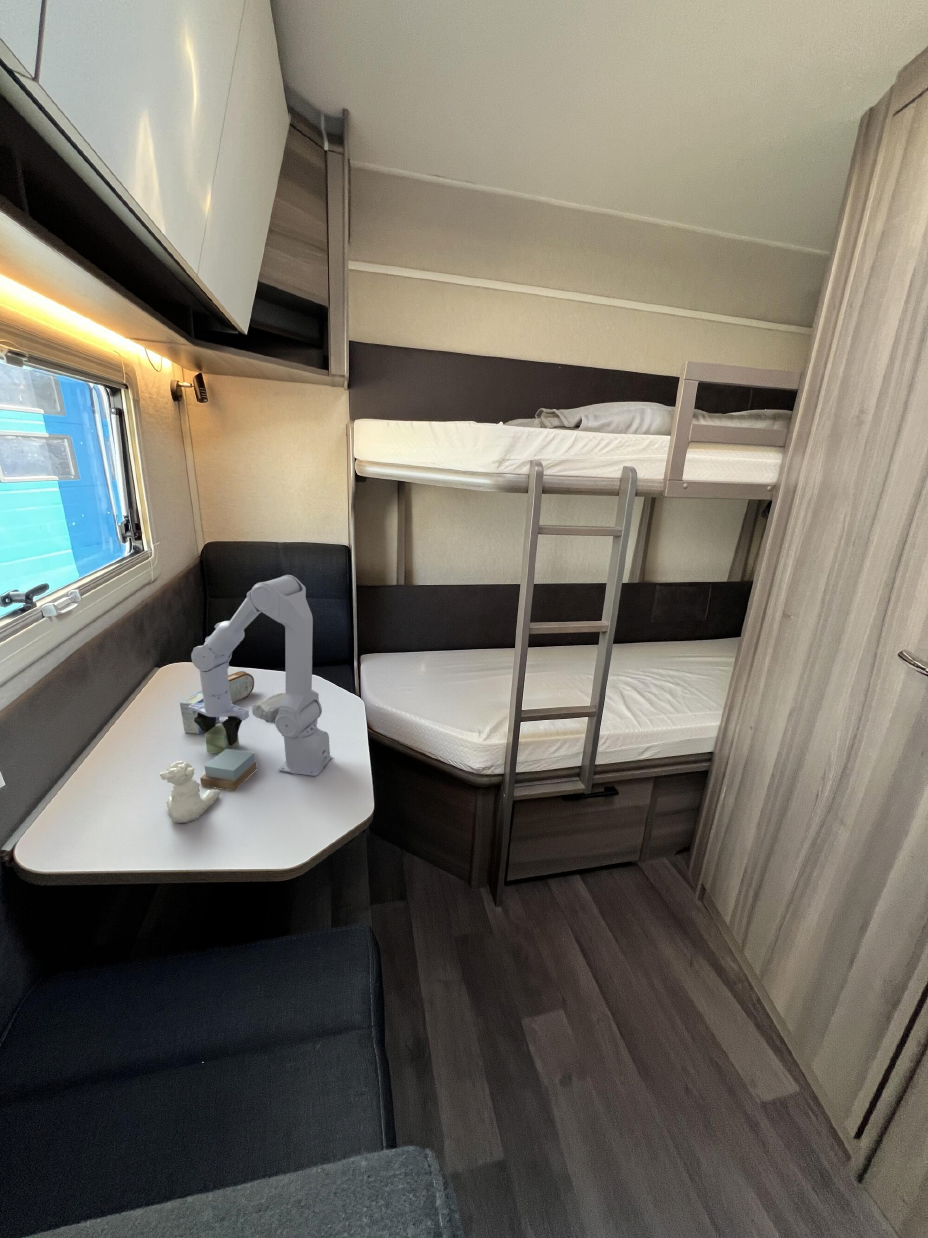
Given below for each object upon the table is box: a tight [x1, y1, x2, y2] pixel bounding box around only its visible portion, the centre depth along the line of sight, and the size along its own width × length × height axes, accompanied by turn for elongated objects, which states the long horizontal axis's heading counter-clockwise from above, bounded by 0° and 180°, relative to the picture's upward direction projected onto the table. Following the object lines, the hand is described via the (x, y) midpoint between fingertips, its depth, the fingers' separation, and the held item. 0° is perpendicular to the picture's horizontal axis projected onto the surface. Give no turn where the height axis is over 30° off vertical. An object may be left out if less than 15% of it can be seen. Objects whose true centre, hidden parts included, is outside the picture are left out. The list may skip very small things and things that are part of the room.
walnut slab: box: [200, 761, 258, 791], centre depth 103 cm, size 8×8×2 cm
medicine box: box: [179, 690, 220, 735], centre depth 122 cm, size 8×4×9 cm, turn 168°
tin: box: [228, 670, 255, 705], centre depth 136 cm, size 15×3×8 cm, turn 154°
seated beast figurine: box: [159, 760, 221, 824], centre depth 90 cm, size 10×9×12 cm
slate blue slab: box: [204, 749, 256, 781], centre depth 102 cm, size 7×7×2 cm
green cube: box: [204, 723, 240, 754], centre depth 113 cm, size 5×5×5 cm
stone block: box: [251, 692, 286, 723], centre depth 133 cm, size 12×5×10 cm
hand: (222, 741), depth 113 cm, fingers closed on green cube, 5 cm apart
